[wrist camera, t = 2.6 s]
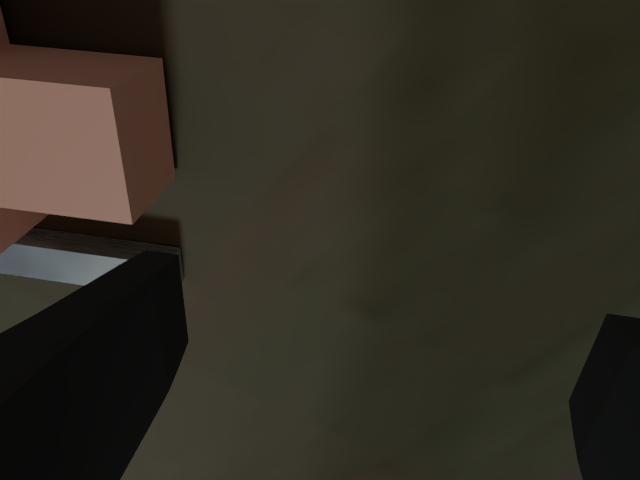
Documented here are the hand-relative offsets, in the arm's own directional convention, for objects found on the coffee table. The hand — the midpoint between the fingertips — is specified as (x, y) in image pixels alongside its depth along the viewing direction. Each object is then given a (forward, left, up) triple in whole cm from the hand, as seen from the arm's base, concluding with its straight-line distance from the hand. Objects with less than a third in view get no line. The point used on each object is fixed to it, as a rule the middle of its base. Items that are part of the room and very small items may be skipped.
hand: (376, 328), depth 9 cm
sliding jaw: (0, +11, -8) cm, 14 cm away
